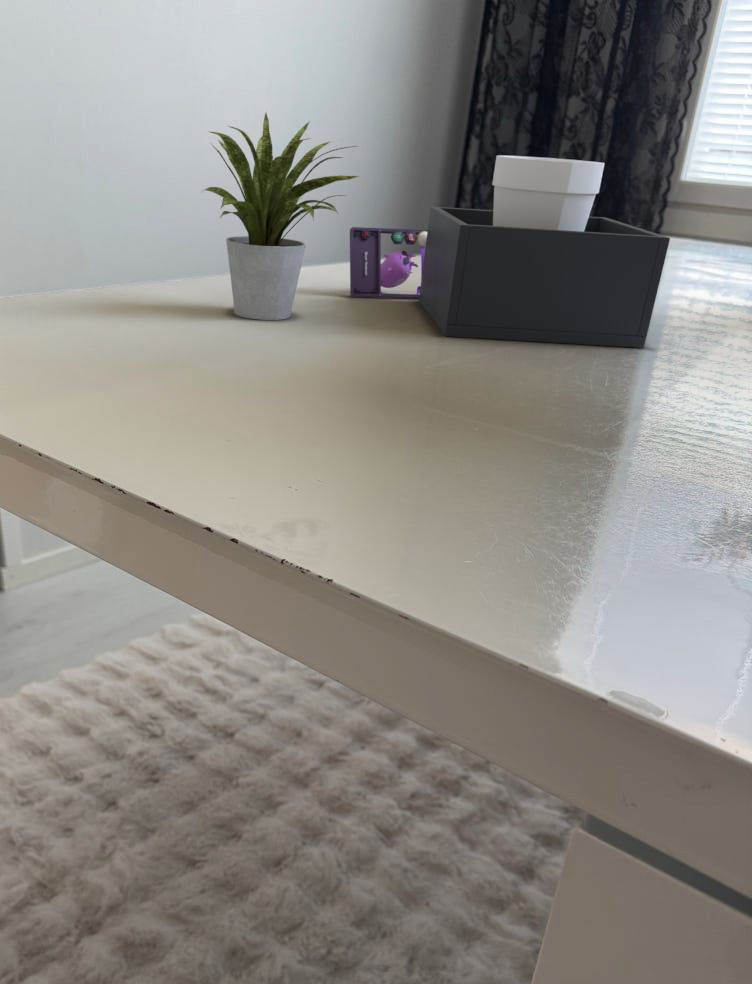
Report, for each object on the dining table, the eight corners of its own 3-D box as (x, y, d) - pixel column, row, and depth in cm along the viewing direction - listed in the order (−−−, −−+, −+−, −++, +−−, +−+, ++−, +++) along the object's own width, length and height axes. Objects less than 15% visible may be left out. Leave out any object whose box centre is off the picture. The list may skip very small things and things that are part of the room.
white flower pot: (536, 302, 96) (563, 158, 90) (595, 321, 89) (628, 165, 82) (455, 303, 93) (476, 153, 87) (508, 322, 85) (536, 160, 79)
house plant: (285, 340, 78) (300, 112, 70) (150, 315, 84) (150, 102, 76) (364, 318, 89) (384, 118, 81) (239, 297, 95) (247, 109, 87)
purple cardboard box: (353, 225, 97) (435, 228, 99) (337, 237, 102) (416, 240, 104) (353, 294, 98) (435, 296, 100) (338, 303, 103) (416, 305, 105)
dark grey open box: (586, 311, 99) (606, 217, 95) (643, 348, 84) (670, 237, 80) (418, 301, 99) (430, 206, 95) (444, 336, 83) (460, 224, 79)
